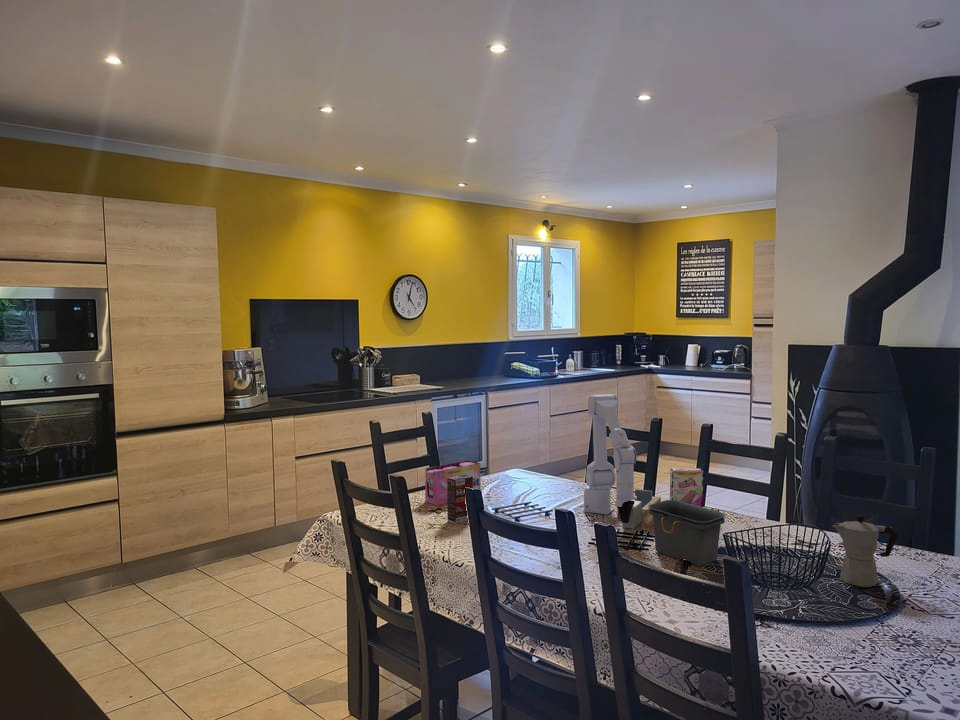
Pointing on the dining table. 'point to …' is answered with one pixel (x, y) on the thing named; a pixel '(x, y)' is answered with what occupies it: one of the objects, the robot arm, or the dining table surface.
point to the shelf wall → (648, 514)
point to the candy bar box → (687, 485)
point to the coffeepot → (862, 550)
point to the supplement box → (457, 498)
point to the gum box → (438, 479)
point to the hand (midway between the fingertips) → (625, 522)
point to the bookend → (643, 496)
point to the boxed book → (634, 515)
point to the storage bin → (686, 531)
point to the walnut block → (618, 515)
